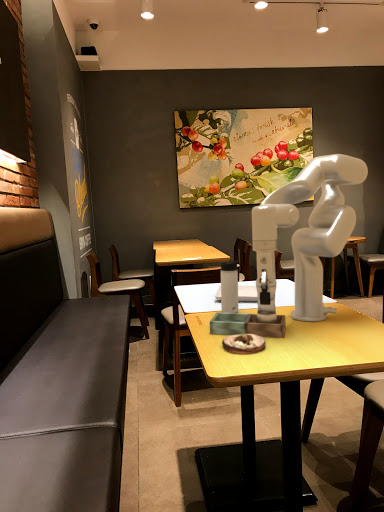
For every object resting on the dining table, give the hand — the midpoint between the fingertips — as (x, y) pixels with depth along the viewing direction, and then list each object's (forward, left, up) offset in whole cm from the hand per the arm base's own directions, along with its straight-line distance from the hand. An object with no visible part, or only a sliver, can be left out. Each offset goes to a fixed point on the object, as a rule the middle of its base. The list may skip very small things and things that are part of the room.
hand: (266, 301), depth 126 cm
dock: (+6, 0, -10) cm, 11 cm away
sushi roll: (+5, +15, -10) cm, 19 cm away
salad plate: (+15, -45, -10) cm, 49 cm away
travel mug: (+15, -18, -10) cm, 25 cm away
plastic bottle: (0, 0, -9) cm, 9 cm away
